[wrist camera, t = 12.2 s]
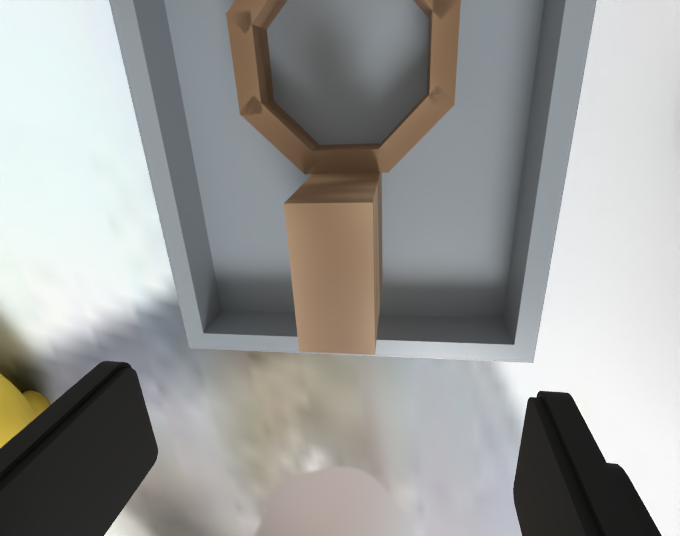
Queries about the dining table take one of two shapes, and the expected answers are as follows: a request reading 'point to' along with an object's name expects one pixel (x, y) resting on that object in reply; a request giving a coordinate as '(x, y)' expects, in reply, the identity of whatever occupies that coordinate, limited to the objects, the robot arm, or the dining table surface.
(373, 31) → the tray
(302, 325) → the ring
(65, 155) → the dining table surface
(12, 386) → the teapot
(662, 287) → the dining table surface
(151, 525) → the dining table surface
